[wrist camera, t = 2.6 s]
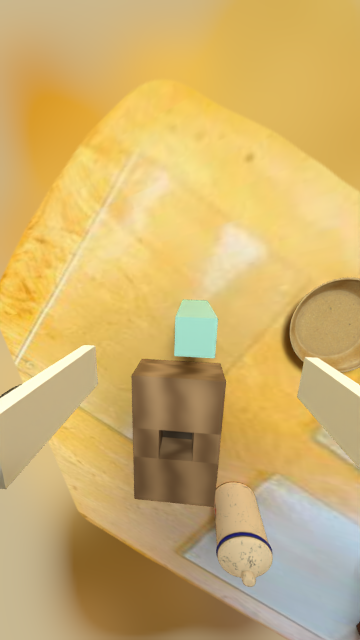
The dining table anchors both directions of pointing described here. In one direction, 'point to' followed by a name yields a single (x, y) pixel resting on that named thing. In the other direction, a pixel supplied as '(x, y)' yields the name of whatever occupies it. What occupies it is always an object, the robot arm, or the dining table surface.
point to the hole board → (177, 430)
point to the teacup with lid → (240, 533)
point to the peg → (195, 329)
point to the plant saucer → (329, 324)
